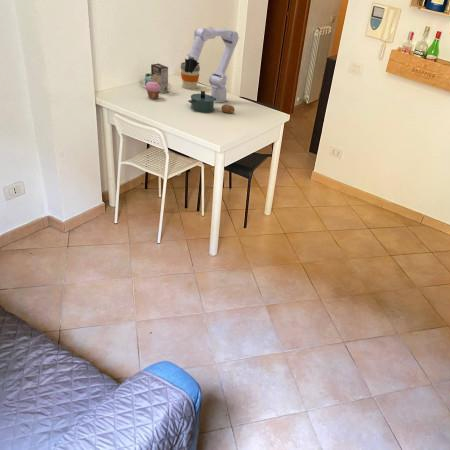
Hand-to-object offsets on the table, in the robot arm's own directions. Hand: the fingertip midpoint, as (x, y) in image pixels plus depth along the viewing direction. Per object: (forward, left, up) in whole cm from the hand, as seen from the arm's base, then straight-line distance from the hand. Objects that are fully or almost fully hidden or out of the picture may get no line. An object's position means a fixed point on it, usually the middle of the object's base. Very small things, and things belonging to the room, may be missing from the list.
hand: (188, 72), depth 250 cm
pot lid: (-8, +4, -15) cm, 17 cm away
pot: (-8, +4, -21) cm, 23 cm away
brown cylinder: (-19, +15, -21) cm, 32 cm away
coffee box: (-1, -33, -21) cm, 39 cm away
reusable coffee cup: (-25, -35, -21) cm, 48 cm away
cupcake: (+10, -22, -21) cm, 32 cm away
